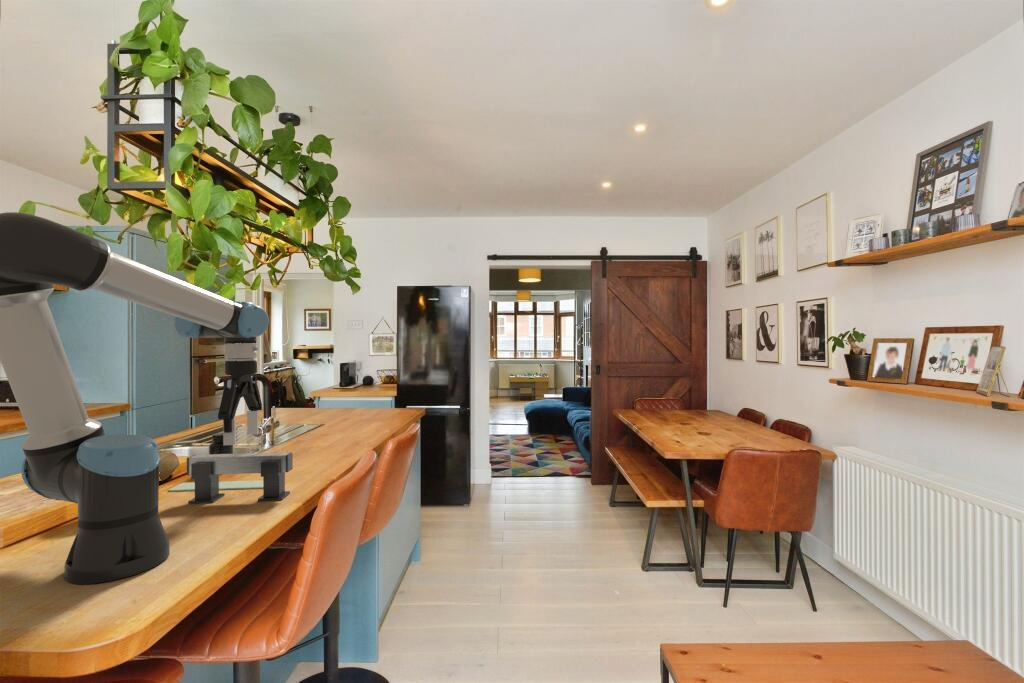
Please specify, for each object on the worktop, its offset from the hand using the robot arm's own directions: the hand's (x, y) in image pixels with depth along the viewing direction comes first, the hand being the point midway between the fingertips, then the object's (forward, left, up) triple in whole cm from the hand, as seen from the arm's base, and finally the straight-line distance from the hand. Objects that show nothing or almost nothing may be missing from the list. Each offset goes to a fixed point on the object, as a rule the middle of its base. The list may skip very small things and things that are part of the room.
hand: (242, 439), depth 128 cm
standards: (0, 0, -16) cm, 16 cm away
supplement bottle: (+30, +19, -16) cm, 39 cm away
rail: (0, 0, -9) cm, 9 cm away
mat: (+12, +9, -16) cm, 22 cm away
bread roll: (+22, +33, -16) cm, 43 cm away
